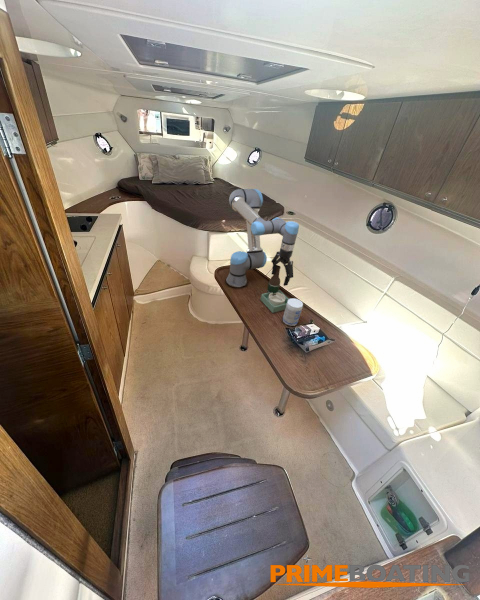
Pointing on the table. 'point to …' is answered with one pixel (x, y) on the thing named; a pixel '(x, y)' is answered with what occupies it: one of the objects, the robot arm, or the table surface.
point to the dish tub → (273, 309)
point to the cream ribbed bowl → (276, 299)
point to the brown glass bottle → (274, 282)
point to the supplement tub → (292, 312)
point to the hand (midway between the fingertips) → (279, 279)
